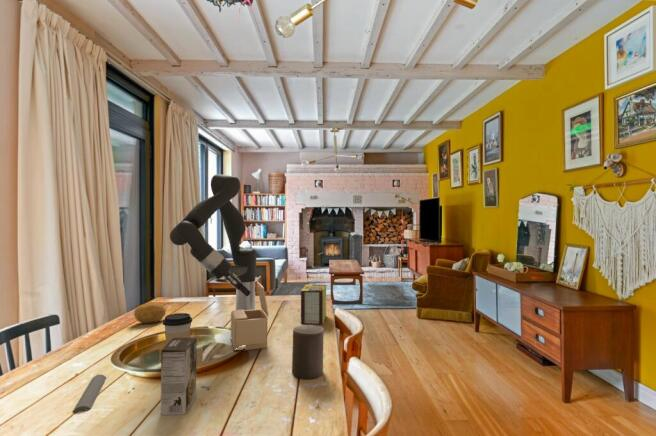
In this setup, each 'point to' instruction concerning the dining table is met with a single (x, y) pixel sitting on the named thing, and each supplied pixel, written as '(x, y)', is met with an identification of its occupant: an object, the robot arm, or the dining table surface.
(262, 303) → the flap
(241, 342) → the carton
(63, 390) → the dining table surface
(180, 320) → the coffee cup
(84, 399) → the gray half cylinder
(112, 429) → the dining table surface
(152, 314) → the potato
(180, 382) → the coffee box
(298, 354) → the pillar candle
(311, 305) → the protein box
